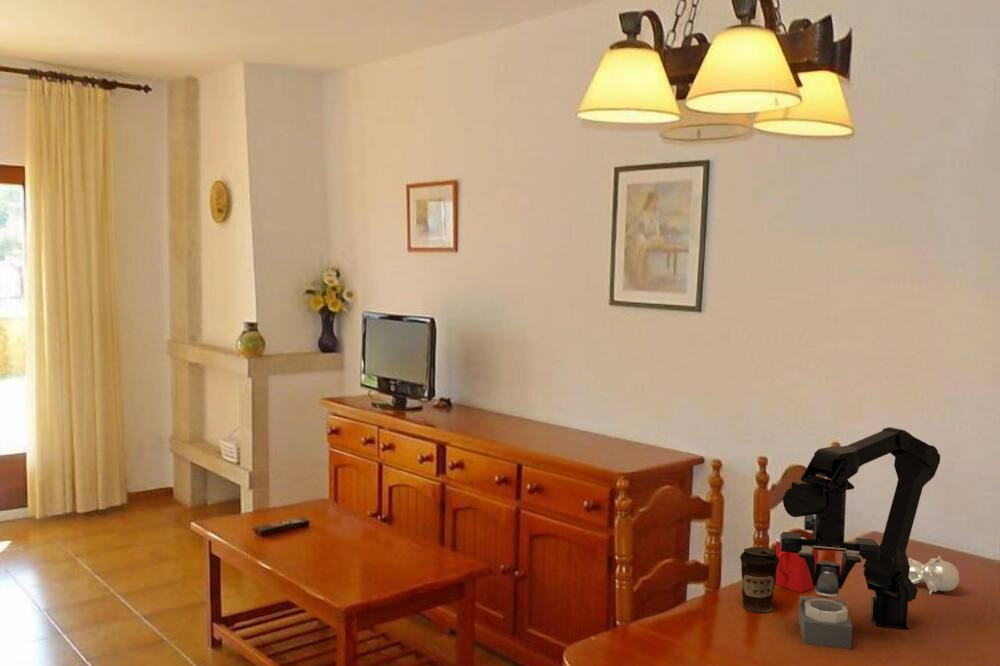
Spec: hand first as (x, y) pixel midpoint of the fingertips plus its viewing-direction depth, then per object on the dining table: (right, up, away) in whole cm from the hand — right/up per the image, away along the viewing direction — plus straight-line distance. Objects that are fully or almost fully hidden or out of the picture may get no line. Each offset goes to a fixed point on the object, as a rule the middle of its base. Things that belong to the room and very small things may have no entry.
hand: (827, 586), depth 181 cm
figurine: (+35, -10, +32) cm, 49 cm away
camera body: (0, -10, +2) cm, 10 cm away
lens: (0, -1, 0) cm, 1 cm away
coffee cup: (-10, -9, +16) cm, 21 cm away
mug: (+3, -9, +30) cm, 32 cm away
